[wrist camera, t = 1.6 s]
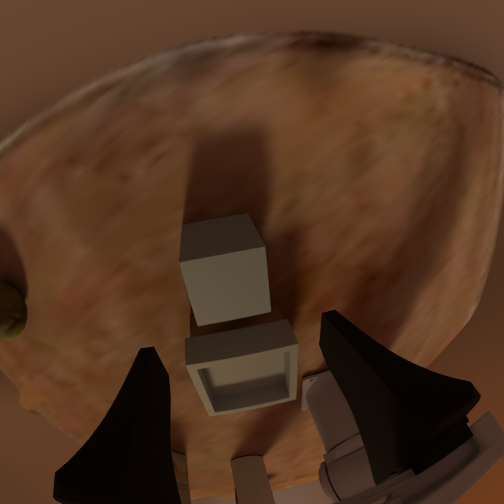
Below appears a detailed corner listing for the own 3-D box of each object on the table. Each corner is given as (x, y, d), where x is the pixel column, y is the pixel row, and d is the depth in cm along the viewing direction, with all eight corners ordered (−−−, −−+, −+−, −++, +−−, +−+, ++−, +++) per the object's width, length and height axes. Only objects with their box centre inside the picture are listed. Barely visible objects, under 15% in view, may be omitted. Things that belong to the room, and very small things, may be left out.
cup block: (287, 318, 20) (298, 343, 18) (288, 377, 24) (296, 399, 21) (185, 338, 19) (185, 365, 17) (206, 393, 23) (209, 416, 21)
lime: (25, 321, 19) (6, 359, 14) (-9, 287, 16) (-33, 321, 12) (43, 299, 18) (21, 340, 14) (6, 261, 16) (-24, 295, 12)
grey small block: (247, 212, 18) (265, 246, 14) (254, 268, 21) (270, 311, 16) (182, 224, 18) (179, 262, 14) (195, 279, 20) (197, 326, 16)
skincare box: (187, 454, 35) (195, 518, 25) (171, 460, 36) (177, 520, 26) (155, 445, 32) (159, 515, 22) (140, 450, 33) (143, 515, 23)
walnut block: (274, 297, 23) (284, 321, 20) (277, 351, 26) (286, 374, 24) (189, 313, 22) (190, 339, 19) (207, 365, 25) (210, 390, 23)
